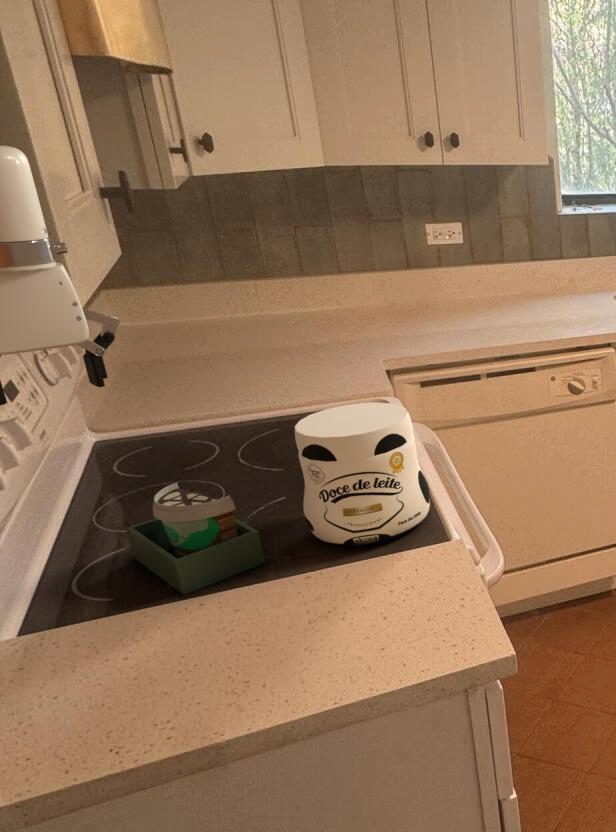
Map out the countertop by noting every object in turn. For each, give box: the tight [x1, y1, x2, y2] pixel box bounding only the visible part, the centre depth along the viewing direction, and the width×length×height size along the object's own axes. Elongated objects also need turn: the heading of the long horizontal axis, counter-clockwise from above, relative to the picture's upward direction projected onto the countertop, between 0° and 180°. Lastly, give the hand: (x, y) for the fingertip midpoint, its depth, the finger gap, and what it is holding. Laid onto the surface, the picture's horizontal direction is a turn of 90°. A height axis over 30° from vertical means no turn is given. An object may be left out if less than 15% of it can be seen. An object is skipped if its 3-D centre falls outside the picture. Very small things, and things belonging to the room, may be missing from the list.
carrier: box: [125, 517, 266, 596], centre depth 110 cm, size 16×10×6 cm, turn 55°
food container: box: [152, 482, 238, 559], centre depth 109 cm, size 12×6×10 cm, turn 67°
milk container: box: [294, 402, 431, 547], centre depth 117 cm, size 17×17×18 cm
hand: (50, 393), depth 98 cm, fingers open, 9 cm apart
